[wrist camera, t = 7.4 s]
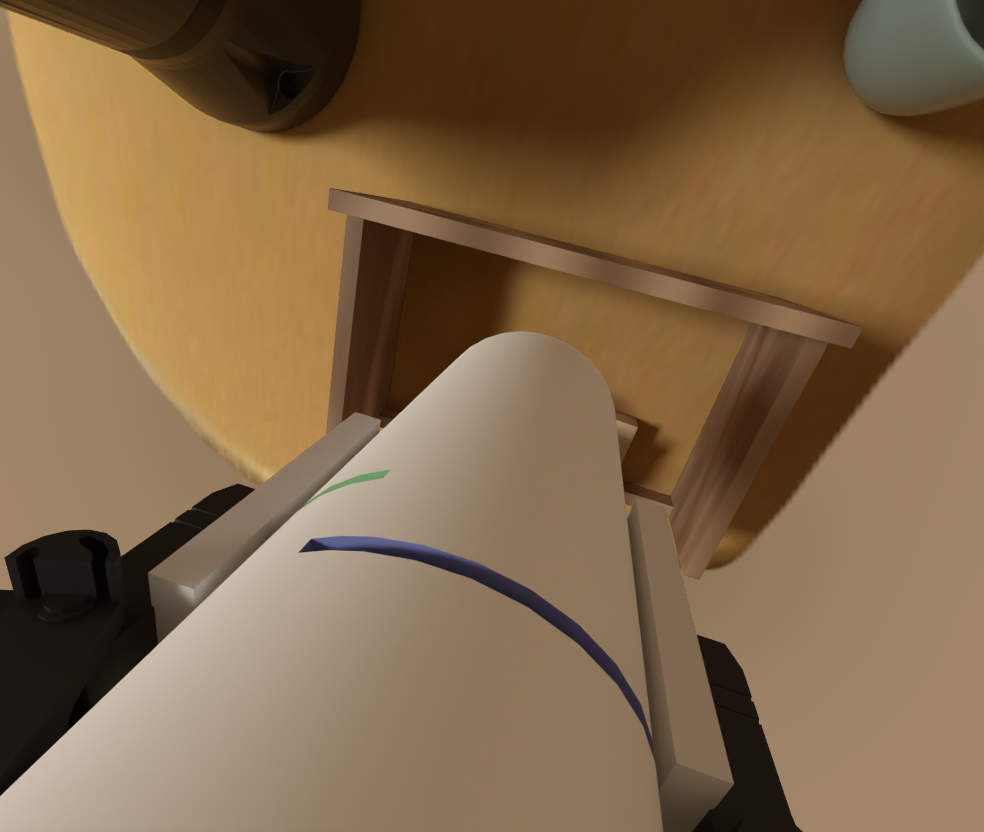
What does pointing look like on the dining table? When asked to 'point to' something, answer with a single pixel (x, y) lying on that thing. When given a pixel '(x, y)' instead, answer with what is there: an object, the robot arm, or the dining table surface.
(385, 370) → the rack
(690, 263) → the dining table surface
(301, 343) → the dining table surface
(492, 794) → the cylindrical container
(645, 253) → the dining table surface
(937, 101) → the cup
